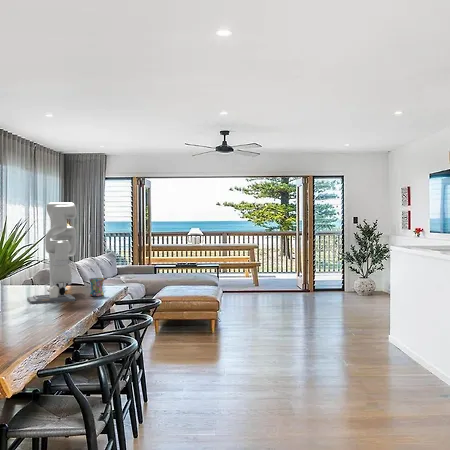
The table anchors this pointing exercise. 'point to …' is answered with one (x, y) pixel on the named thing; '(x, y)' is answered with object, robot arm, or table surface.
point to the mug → (96, 286)
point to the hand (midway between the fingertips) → (62, 294)
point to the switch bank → (50, 299)
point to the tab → (53, 292)
